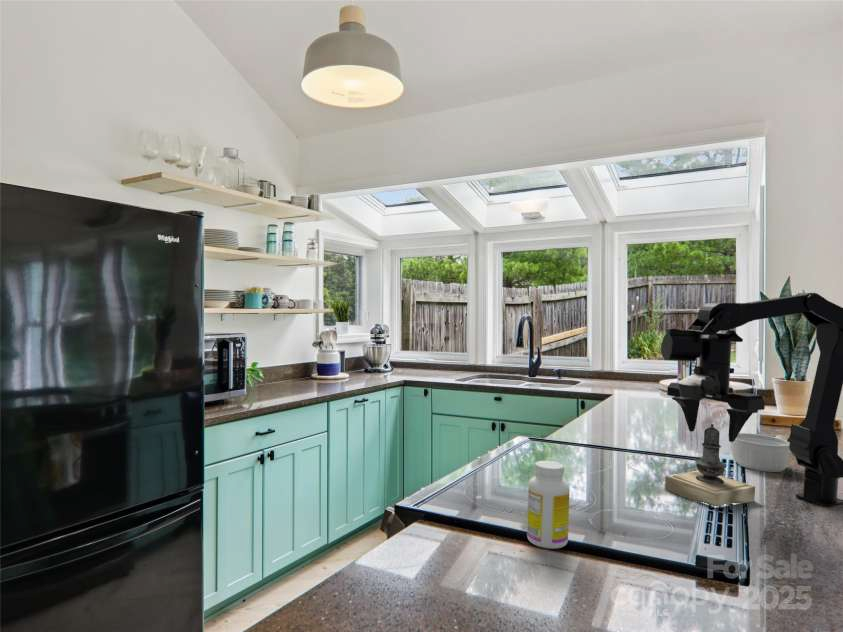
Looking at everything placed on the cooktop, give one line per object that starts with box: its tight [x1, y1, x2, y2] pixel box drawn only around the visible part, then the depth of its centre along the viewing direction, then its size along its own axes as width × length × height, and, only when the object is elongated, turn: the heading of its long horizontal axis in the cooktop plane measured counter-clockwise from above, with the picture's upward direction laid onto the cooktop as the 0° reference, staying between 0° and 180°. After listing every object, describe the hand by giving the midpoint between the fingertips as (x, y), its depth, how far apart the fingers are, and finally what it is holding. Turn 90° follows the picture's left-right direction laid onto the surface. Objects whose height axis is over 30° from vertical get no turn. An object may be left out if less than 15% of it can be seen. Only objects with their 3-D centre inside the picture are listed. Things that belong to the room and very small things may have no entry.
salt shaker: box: [694, 423, 727, 484], centre depth 116 cm, size 6×6×12 cm
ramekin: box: [731, 432, 791, 473], centre depth 140 cm, size 13×13×7 cm
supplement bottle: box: [526, 460, 570, 550], centre depth 91 cm, size 7×7×13 cm
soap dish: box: [664, 470, 756, 506], centre depth 117 cm, size 12×12×3 cm
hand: (710, 436), depth 116 cm, fingers open, 9 cm apart
